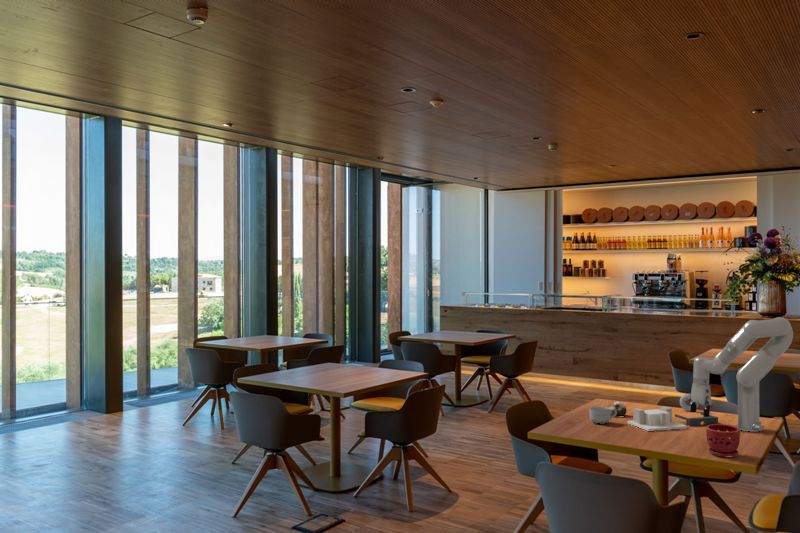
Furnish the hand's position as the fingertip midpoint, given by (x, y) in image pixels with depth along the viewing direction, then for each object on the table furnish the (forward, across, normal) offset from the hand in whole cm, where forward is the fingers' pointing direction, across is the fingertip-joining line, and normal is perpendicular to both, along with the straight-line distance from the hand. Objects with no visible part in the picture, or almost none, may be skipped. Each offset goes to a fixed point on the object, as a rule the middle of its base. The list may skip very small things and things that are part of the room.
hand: (699, 414), depth 338 cm
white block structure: (+6, +3, +24) cm, 25 cm away
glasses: (+5, +3, -1) cm, 6 cm away
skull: (+7, +30, +29) cm, 42 cm away
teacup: (+7, +16, +46) cm, 49 cm away
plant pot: (+5, -51, +29) cm, 59 cm away
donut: (+6, +28, -16) cm, 33 cm away
